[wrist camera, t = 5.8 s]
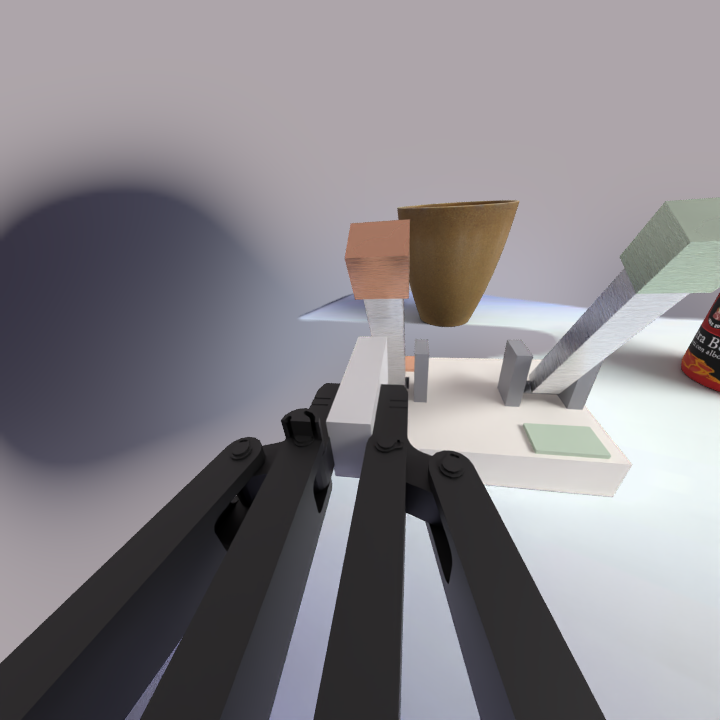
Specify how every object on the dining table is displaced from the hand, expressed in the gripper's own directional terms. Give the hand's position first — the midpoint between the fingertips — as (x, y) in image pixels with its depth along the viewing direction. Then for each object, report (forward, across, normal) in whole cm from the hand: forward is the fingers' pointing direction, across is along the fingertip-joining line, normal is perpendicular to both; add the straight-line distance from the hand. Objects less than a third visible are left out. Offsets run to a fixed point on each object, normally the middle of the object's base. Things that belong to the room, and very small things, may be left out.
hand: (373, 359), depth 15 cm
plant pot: (+30, +7, -10) cm, 33 cm away
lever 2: (+6, +12, -6) cm, 14 cm away
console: (+6, +6, -10) cm, 13 cm away
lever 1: (+6, +1, -6) cm, 9 cm away
